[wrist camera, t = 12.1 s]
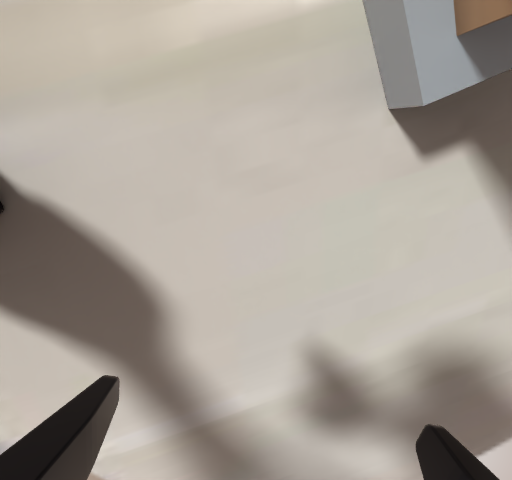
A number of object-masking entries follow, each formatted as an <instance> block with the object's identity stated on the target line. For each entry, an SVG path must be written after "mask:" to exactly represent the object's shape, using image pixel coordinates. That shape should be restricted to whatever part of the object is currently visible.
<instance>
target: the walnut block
mask: <svg viewBox="0 0 512 480" xmlns="http://www.w3.org/2000/svg"><path fill="white" fill-rule="evenodd" d="M453 1H454V12H455V24H456V35H457V36H459V35H462V34H464V33H467V32H469V31H472V30H475V29H477V28H480V27H482V26H485V25H488V24H490V23H493V22H495V21H498V20H501V19H503V18H506V17H508V16H511V15H512V0H453Z"/></svg>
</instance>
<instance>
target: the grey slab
mask: <svg viewBox="0 0 512 480" xmlns="http://www.w3.org/2000/svg"><path fill="white" fill-rule="evenodd" d="M363 3H364V7H365V12H366V16H367V20H368V24H369V29H370V33H371V37H372V41H373V45H374V50H375V54H376V58H377V62H378V67H379V71H380V75H381V79H382V84H383V88H384V92H385V96H386V100H387V105H388V109H395V108H406V107H417V106H425V105H427V104H429V103H432V102H434V101H437V100H439V99H441V98H444V97H446V96H448V95H451V94H453V93H455V92H458V91H460V90H462V89H465V88H467V87H470V86H472V85H474V84H477V83H479V82H481V81H484V80H486V79H488V78H491V77H493V76H496V75H498V74H500V73H503V72H505V71H507V70H510V69H512V15H511V16H508V17H506V18H503V19H501V20H498V21H495V22H493V23H490V24H488V25H485V26H482V27H480V28H477V29H475V30H472V31H469V32H467V33H464V34H462V35H459V36H457V35H456V24H455V12H454V1H453V0H363Z"/></svg>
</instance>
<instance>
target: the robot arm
mask: <svg viewBox="0 0 512 480" xmlns="http://www.w3.org/2000/svg"><path fill="white" fill-rule="evenodd" d="M3 210H4V207H3V205H2V203H1V202H0V214H1V213H2V212H3ZM118 401H119V378H118V377H115V376H109V375H104V376H102V377H101V378H99V379H98V380H97V381H95V382H94V383H93V384H91V385H90V386H89V387H88V388H86V389H85V390H84V391H82V392H81V393H80V394H79V395H77V396H76V397H75V398H73V399H72V400H71V401H69V402H68V403H67V404H66V405H64V406H63V407H62V408H60V409H59V410H58V411H57V412H55V413H54V414H53V415H51V416H50V417H49V418H47V419H46V420H45V421H44V422H42V423H41V424H40V425H38V426H37V427H36V428H35V429H33V430H32V431H31V432H29V433H28V434H27V435H25V436H24V437H23V438H22V439H20V440H19V441H18V442H16V443H15V444H14V445H13V446H11V447H10V448H9V449H7V450H6V451H5V452H3V453H2V454H1V455H0V480H87V478H88V476H89V474H90V472H91V470H92V468H93V465H94V463H95V461H96V458H97V456H98V453H99V451H100V448H101V446H102V443H103V441H104V438H105V435H106V433H107V430H108V428H109V425H110V423H111V420H112V418H113V415H114V413H115V410H116V408H117V405H118ZM416 452H417V456H418V460H419V463H420V467H421V471H422V474H423V478H424V480H499V479H498V478H497V477H496V476H495V475H494V474H493V473H492V472H491V471H490V470H489V469H488V468H487V467H485V466H484V465H483V464H482V463H481V462H480V461H479V460H478V459H477V458H476V457H475V456H474V455H473V454H472V453H470V452H469V451H468V450H467V449H466V448H465V447H464V446H463V445H462V444H461V443H460V442H459V441H458V440H457V439H455V438H454V437H453V436H452V435H451V434H450V433H449V432H448V431H447V430H446V429H445V428H443V427H442V426H438V425H432V424H428V425H426V426H425V427H424V429H423V431H422V433H421V434H420V436H419V438H418V439H417V441H416Z"/></svg>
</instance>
